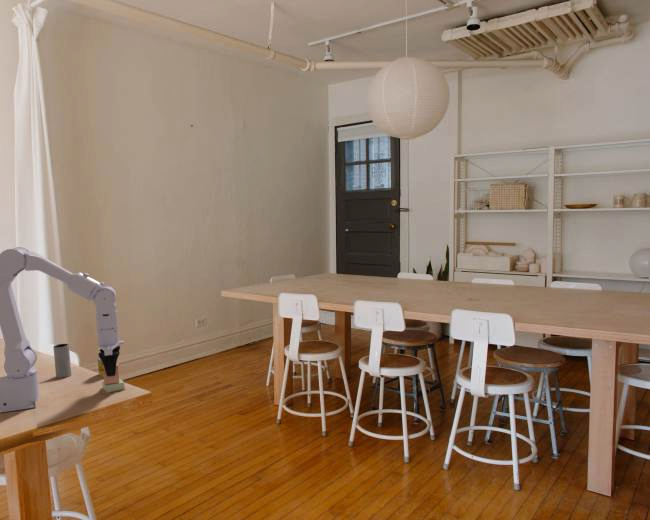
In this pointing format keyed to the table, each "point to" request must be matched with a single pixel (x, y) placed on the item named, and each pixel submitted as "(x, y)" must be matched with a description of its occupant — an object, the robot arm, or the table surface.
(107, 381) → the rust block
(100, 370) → the supplement bottle
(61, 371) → the grey cylinder
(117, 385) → the top block
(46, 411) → the table surface
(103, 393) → the base block
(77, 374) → the table surface
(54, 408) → the table surface
